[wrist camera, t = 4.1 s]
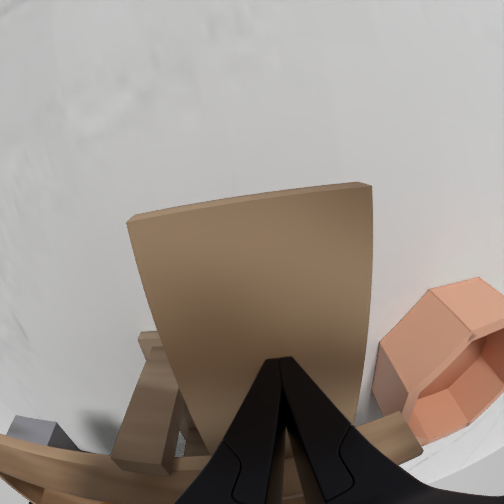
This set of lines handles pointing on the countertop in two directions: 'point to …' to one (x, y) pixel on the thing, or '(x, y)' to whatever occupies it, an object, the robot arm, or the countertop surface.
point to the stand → (155, 417)
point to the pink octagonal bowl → (443, 360)
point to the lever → (233, 332)
